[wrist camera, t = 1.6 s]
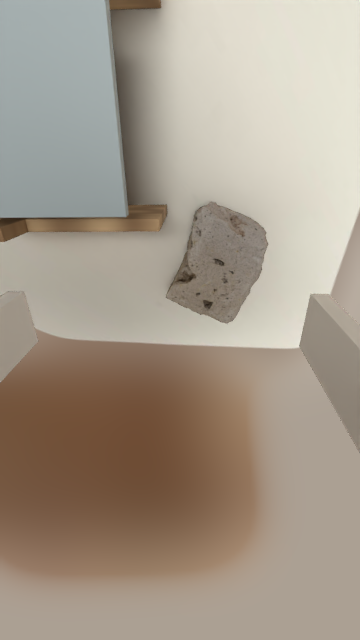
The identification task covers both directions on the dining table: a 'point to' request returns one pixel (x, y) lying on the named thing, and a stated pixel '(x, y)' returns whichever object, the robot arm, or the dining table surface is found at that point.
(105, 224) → the frame
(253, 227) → the stone
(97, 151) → the blue-grey flat square block
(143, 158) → the dining table surface
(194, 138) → the dining table surface
